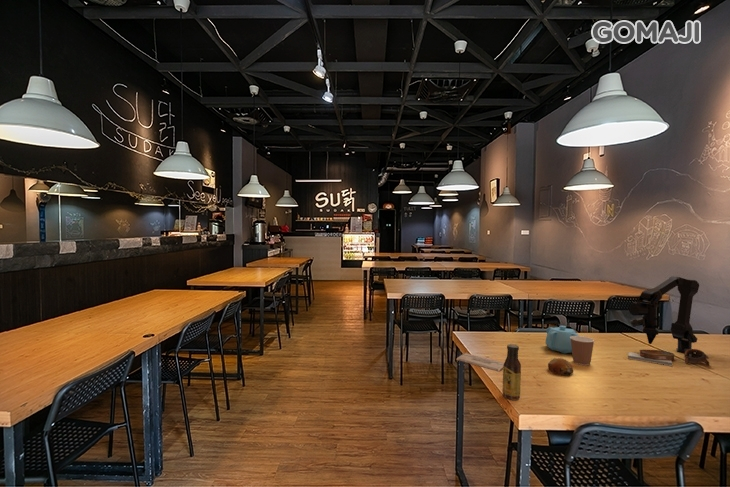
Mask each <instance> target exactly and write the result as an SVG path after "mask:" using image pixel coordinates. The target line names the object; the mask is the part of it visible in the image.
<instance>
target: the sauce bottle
mask: <svg viewBox="0 0 730 487" xmlns="http://www.w3.org/2000/svg"><path fill="white" fill-rule="evenodd" d="M506 349H507V350H506V351H507V353H506V357H505V360H504V362H503V363H504V365H503V368H502V395H503V397H504V398H506V399H507V400H510V401H511V400H512V401H516V400H519V399H520V396H521V386H522V385H521V381H522V378H521V376H522V369H521V368H522V365H521V362H520V360H519V349H520V348H519V346H518V345H517V344H511V343H510V344H507V346H506Z"/></svg>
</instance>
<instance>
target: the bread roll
mask: <svg viewBox="0 0 730 487" xmlns="http://www.w3.org/2000/svg"><path fill="white" fill-rule="evenodd" d="M547 367H548V371H549V372H551V373H552V374H554V375H557V376H561V377H562V376H563V377H570V376H572V375H573V373H574V367H573V365H572V363H571V362H569V360H567V359H564V358H562V357H558V358H555V357H554V358H553V359H551V360H550V361H549V362H548V364H547Z"/></svg>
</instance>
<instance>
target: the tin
mask: <svg viewBox="0 0 730 487" xmlns="http://www.w3.org/2000/svg"><path fill="white" fill-rule="evenodd" d="M639 354H640V356H642V357H645V358H648V359H656V360H671V361H673V360H675V355H676V354H675V353H673V352H671V351H666V350H661V349H659V350H658V349H639Z"/></svg>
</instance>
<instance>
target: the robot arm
mask: <svg viewBox="0 0 730 487" xmlns="http://www.w3.org/2000/svg"><path fill="white" fill-rule="evenodd" d="M676 287H677V291H678V293H679V295H680V296H679V303H678V311H677V318H676V320H675V322H672V323H671V328H670V333H671V336H672V339H673V340H677V347H676V349H675V350H676V352H679V353H685V352H684V350H685V349H693V345H692V344H696V343H697V341H698V337H697V336H696V335H695V334H694V333H693V330H694V329H693V327H692V325H691V323H690V320H691V314H692V313H691V312H692V305H693V301H694V300H693V299H694V296H695V295H696V294H698V292H699V288H700V283H699V282H698V281H697V280H695V279H688V278H687V279H686V278H684V277H680V276H675V275H674V276H669V278H668V279H666V280H664V281H663V282H662V283H660V284H658V285H657V286H655V287H652V288H648V289H645V290H643V291H642V292H641V293H640V294H639V296H638V298H637V300H636V301H635V302H632V304H631V305H630V306H629V308H628V311H629V313H630V315H631V316H642V317H641V318H640V317H639V318H633V319H630V320H629V323H630V324H631V327H633V328H635V327H639V326H642V333H643V334H645V335H646V337H647V342H648V344H649V345H652V343H653V342H654V340H655V339H656V336H659V329H658V307H659V308H660V307H661V304H660V303H659V301H660V300H662V299H663V296H664V295H665V294H667V293H669V291H671V290H672V289H675V288H676Z"/></svg>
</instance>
